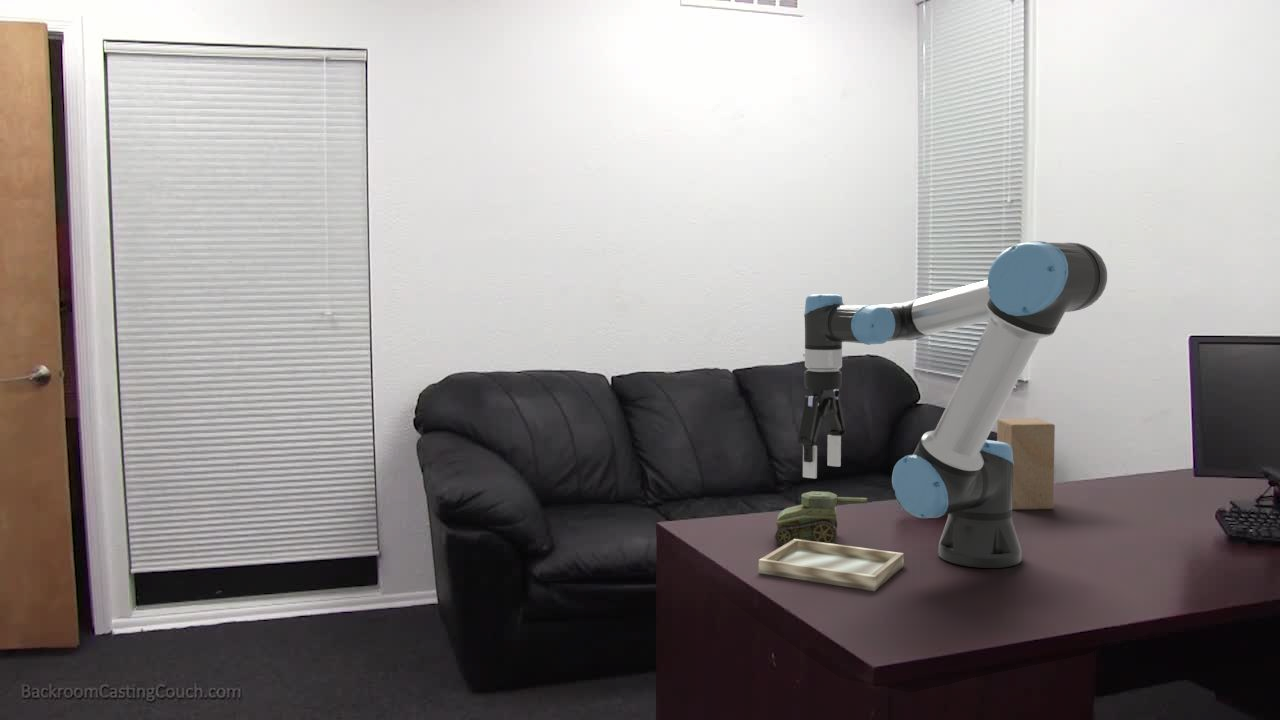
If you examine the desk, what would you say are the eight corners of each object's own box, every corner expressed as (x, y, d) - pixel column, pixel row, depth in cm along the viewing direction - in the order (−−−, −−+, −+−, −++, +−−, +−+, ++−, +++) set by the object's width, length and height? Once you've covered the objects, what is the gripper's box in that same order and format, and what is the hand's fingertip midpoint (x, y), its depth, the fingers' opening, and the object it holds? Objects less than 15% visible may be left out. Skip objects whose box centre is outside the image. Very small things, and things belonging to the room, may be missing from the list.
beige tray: (903, 566, 186) (903, 553, 186) (874, 591, 172) (874, 577, 172) (794, 551, 198) (794, 538, 197) (758, 573, 183) (758, 559, 183)
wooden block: (1054, 509, 229) (1055, 423, 227) (1010, 510, 229) (1011, 424, 227) (1037, 500, 239) (1038, 417, 237) (995, 500, 239) (996, 418, 237)
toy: (867, 549, 199) (867, 500, 198) (774, 545, 203) (774, 497, 202) (866, 536, 208) (866, 489, 208) (778, 533, 212) (778, 487, 211)
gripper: (827, 363, 215) (826, 459, 217) (781, 374, 194) (781, 480, 196) (861, 365, 211) (859, 462, 213) (817, 376, 190) (816, 484, 192)
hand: (822, 471), depth 205 cm, fingers open, 13 cm apart
